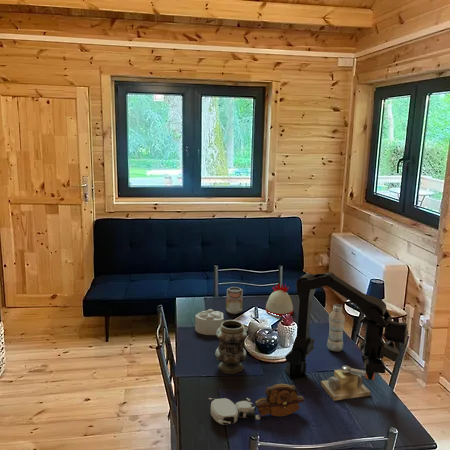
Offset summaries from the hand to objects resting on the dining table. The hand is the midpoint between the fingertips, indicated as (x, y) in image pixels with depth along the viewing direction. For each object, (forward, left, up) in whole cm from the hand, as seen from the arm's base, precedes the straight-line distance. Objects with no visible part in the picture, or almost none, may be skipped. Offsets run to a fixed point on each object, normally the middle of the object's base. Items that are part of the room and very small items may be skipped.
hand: (369, 379), depth 152 cm
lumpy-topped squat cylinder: (-42, +64, -8) cm, 78 cm away
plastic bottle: (+6, +34, -8) cm, 36 cm away
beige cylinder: (-25, +82, -8) cm, 87 cm away
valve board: (-5, +6, -7) cm, 11 cm away
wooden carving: (-33, -2, -8) cm, 34 cm away
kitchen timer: (-2, +78, -8) cm, 79 cm away
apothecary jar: (-41, +30, -8) cm, 52 cm away
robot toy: (-48, +1, -8) cm, 49 cm away
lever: (-2, +4, -1) cm, 5 cm away
